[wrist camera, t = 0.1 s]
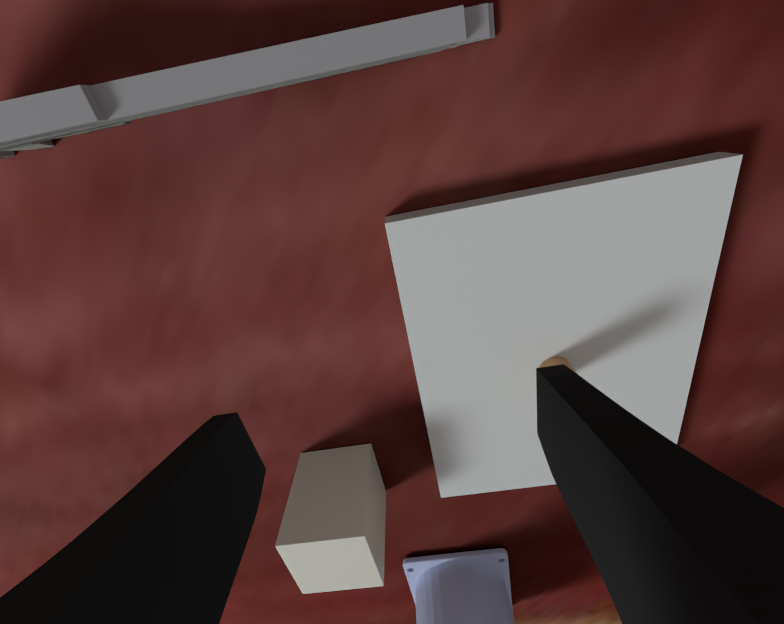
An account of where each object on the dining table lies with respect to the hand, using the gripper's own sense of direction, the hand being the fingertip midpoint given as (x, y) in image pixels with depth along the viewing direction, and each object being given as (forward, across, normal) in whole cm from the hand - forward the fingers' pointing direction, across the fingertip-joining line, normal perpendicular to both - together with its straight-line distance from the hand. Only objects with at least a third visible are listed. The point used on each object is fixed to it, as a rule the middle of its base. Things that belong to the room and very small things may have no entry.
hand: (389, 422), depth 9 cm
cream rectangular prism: (+10, +6, +13) cm, 18 cm away
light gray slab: (+10, -7, +6) cm, 14 cm away
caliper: (+10, +5, -9) cm, 14 cm away
